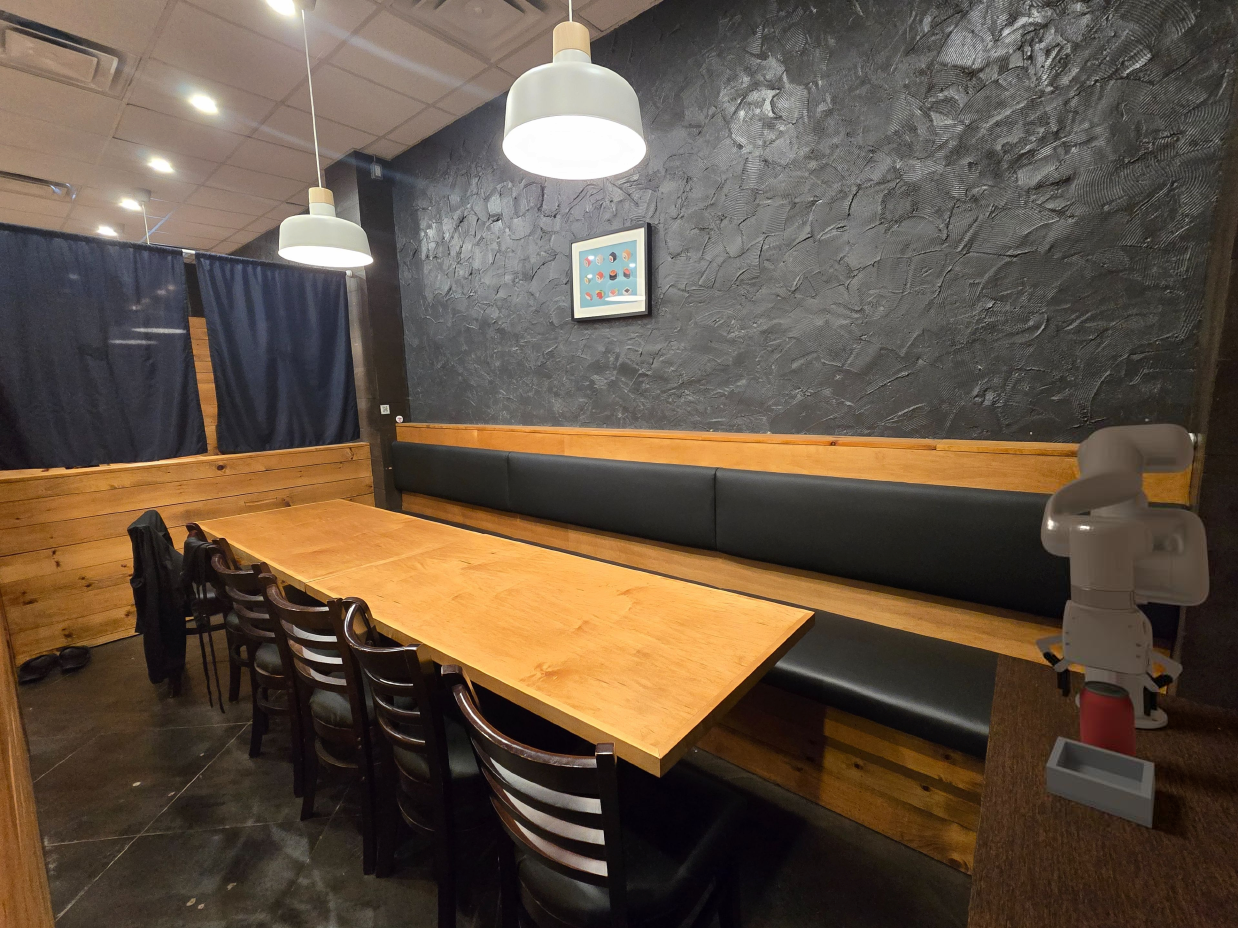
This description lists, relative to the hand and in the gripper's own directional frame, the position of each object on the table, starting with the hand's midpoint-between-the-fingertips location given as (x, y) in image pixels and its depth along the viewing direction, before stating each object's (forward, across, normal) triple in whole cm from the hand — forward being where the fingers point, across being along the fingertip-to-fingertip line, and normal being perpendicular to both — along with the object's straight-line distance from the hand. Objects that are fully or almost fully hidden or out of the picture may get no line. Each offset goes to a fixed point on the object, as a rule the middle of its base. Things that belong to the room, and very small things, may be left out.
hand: (1105, 703), depth 84 cm
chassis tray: (+10, 0, +9) cm, 14 cm away
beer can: (+10, 0, -1) cm, 10 cm away
